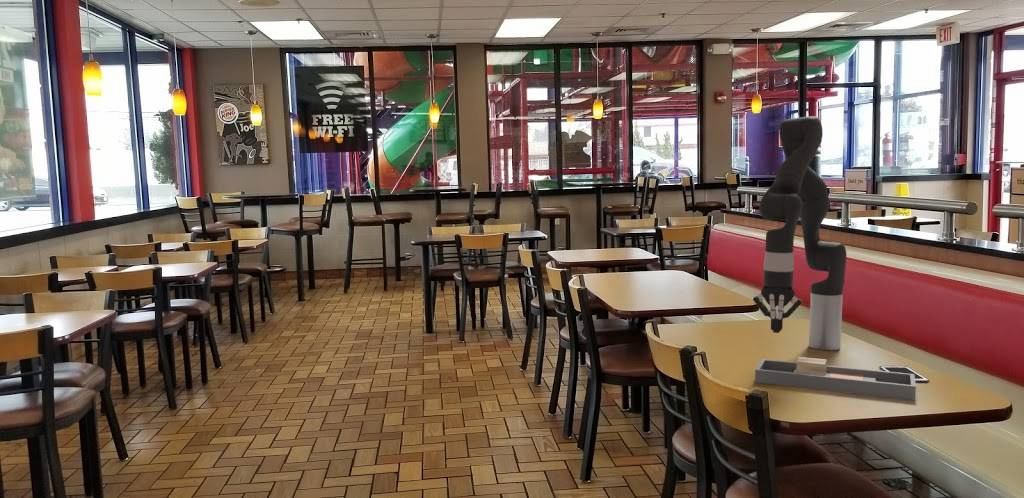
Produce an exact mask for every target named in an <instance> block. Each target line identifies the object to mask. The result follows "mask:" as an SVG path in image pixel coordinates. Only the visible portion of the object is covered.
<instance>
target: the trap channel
mask: <svg viewBox="0 0 1024 498" xmlns="http://www.w3.org/2000/svg"><path fill="white" fill-rule="evenodd" d="M796 369H797V361H796V362H795V361H788V360H787V361H785V360H775V359H765V358H761V359H760V362H759V363H758V365H757V366H756V367H755V371H754V373H755V374H754V383H756V384H764V383H765V384H766V385H773V384H775V385H774V386H782V385H785V386H786V387H791V386H792V387H793V388H801V389H802V388H803V389H808V390H809V389H810V390H819V391H820V390H821V391H829V392H835V393H836V392H838V393H846V394H852V395H853V394H855V395H863V396H864V395H865V396H872V397H881V398H891V399H899V400H900V399H901V400H908V401H916V389H917V386H916V382H915V375H914V374H908V373H898V372H888V371H883V370H877V369H869V368H868V369H866V368H857V367H849V366H848V367H846V366H838V365H837V366H835V365H827V364H826V376H820V375H811V374H801V373H796ZM765 384H764V385H765ZM785 386H784V387H785ZM792 387H791V388H792Z"/></svg>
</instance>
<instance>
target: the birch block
mask: <svg viewBox="0 0 1024 498" xmlns="http://www.w3.org/2000/svg"><path fill="white" fill-rule="evenodd" d="M827 360H828V359H827V358H826V359H824V358H815V357H805V356H798V357H797V360H796V362H797V369H796V373H801V374H811V375H820V376H826V365H827Z"/></svg>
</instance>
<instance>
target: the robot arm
mask: <svg viewBox="0 0 1024 498" xmlns="http://www.w3.org/2000/svg"><path fill="white" fill-rule="evenodd" d="M780 122H781V123H780V125H779V129H778V131H779V139H780V144H781V147H782V151H783V153H784V157H785V160H784V161H783V162H782V163H781V165H780V166H779V168H778V169H777V172H776V174H775V179H774V181H773V183H772V185H770V187H769V188H768V189H767V190H766V192H765V193H764V194H763V196H762V197H761V198H760V199H761V200H760V202H759V207H758V209H759V213H760V215H761V217H762V218H763V219H765V220H767V221H785V224H784V225H783V226H781V227H779V228H773V229H769V230H767V231H766V234H765V253H764V259H763V281H762V283H763V284H762V288H761V290H760V293H759V294H758V295H755V296H754V297H753V298H752V300H753V302H754V303H755V305H756V306H757V308H758V309H759V310H760V312H761V313H762V314H763V316H765V317H769V318H770V330H771V331H772V333H774V334H780V332H781V331H782V330H783V328H784V327H783V323H784V322H783V321H784V320H783V319H786V318H789V317H791V315H792V314H793V313H794V312H795V311H796V310H797V309H798V308H799V307H800V306H801V304H802V303H803V299H802V298H799V297H798V296H797V295H795V294H796V292H795V291H794V272H795V271H794V269H795V267H794V266H795V259H794V241H795V233H796V228H797V224H798V221H799V220H800V223H801V224H800V225H801V229H802V235H803V236H802V237H803V245H804V255H805V260H806V263H807V265H808V267H809V269H811V270H813V271H818V272H827V273H828V274H827V277H826V278H824V279H822V280H820V281H814V282H812V283H811V285H810V303H809V305H810V307H809V332H808V347H810V348H811V349H815V350H821V351H836V350H840V349H841V345H842V343H841V342H842V341H841V338H842V319H843V318H842V317H843V316H842V315H843V314H842V313H843V291H844V287H845V279H846V277H845V276H846V275H845V274H846V267H847V249H846V246H845V245H844V244H843V243H842V242H835V241H822V240H821V237H820V227H821V225H822V223H823V221H824V220H825V217H826V216H827V214H828V211H829V209H830V205H831V203H830V197H829V193H828V187H827V185H826V182H825V181H824V180H823V179H822V177H821V176H820V175H819V174H818V173H817V172H816V171H815V170H813V168H811V167H810V165H811V164H810V163H812V160H813V159H814V156H815V155H816V154H817V151H818V150H819V148H820V146H821V143H822V141H823V139H822V138H823V125H822V123H821V120H820V118H819V117H817V116H816V115H815V116H812V115H811V116H808V115H807V116H801V117H795V118H793V117H792V118H787V119H784V120H782V121H780ZM764 300H765V302H766V303H767V304H768V305H769V309H768V308H767V306H766V304H764ZM791 300H792V301H791ZM790 302H791V304H792V305H791V306H790V308H789V309H787V311H786V312H785V311H784V310H785V307H786V306H788V304H789V303H790Z"/></svg>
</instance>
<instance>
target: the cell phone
mask: <svg viewBox="0 0 1024 498" xmlns="http://www.w3.org/2000/svg"><path fill="white" fill-rule="evenodd" d="M878 369H879V370H880V371H888V372H898V373H908V374H914V375H915V383H917V384H920V383H922V384H923V383H924V384H928V383H927V382H929V383H930V379H928V378H926V376H924V375H922V374H920V373H919V372H917V371H915V370H914V369H912V368H910V367H908V366H907V365H880V366H879V368H878Z"/></svg>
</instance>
